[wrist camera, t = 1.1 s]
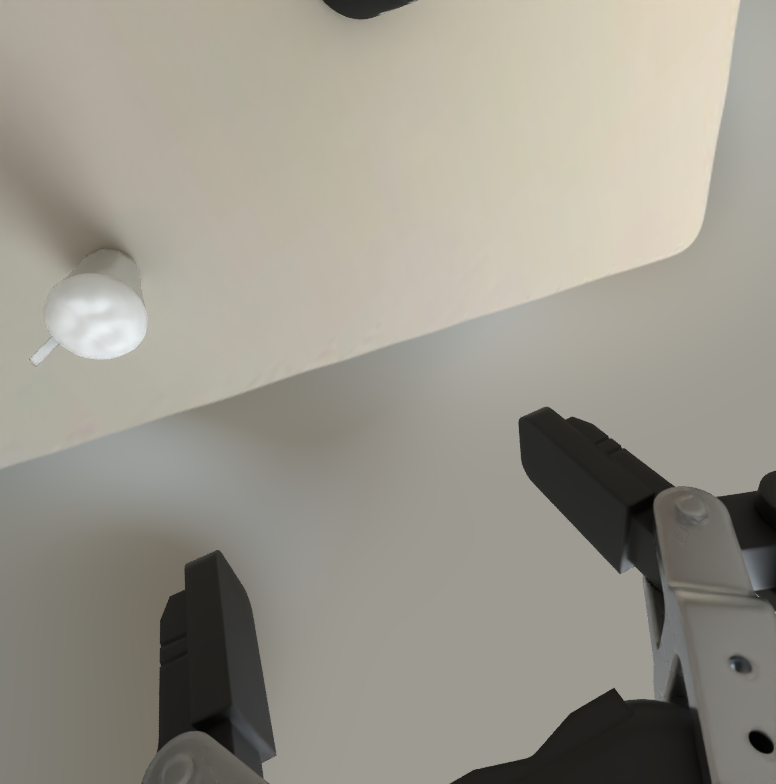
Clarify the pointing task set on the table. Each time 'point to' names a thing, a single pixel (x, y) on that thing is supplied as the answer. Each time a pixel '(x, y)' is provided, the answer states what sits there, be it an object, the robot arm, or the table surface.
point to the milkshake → (96, 308)
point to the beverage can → (365, 7)
